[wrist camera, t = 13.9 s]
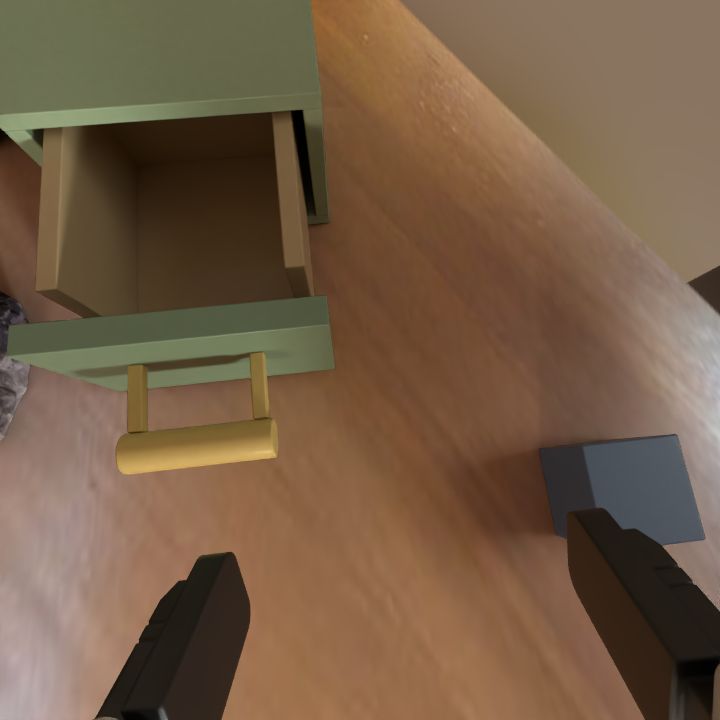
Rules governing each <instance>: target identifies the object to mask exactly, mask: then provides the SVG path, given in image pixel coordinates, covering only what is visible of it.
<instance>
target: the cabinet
mask: <svg viewBox="0 0 720 720" xmlns="http://www.w3.org/2000/svg"><path fill="white" fill-rule="evenodd" d="M289 110H295V115H296V122H297V128H298V135H299V142H300V149H301V158H302V168H303V179H304V189H305V200H306V210H307V220H308V224H318V223H329V222H330V215H329V200H328V186H327V172H326V158H325V143H324V129H323V115H322V100H321V89H320V80H319V71H318V62H317V53H316V44H315V35H314V26H313V17H312V8H311V0H0V128H1V129H2V130H3V131H5V133H6V134H7V135H8V136H9V137H10V138H11V139H12V140H13V141H15V142H16V143H17V144H18V145H19V146H20V147H21V148H22V149H23V150H24V151H25V152H26V153H27V154H28V155H29V156H30V157H31V158H32V159H33V160H34V161H35V162H36V163H37V164H38V165H39V166H40V167H42V152H43V135H44V128H55V127H69V126H83V125H97V124H110V123H124V122H138V121H152V120H165V119H179V118H193V117H207V116H220V115H234V114H248V113H262V112H276V111H289Z"/></svg>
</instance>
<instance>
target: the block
mask: <svg viewBox="0 0 720 720" xmlns="http://www.w3.org/2000/svg"><path fill="white" fill-rule="evenodd" d="M539 452H540V457H541V462H542V467H543V472H544V477H545V482H546V487H547V492H548V497H549V501H550V506H551V511H552V516H553V521H554V526H555V531H556V535H557V536H560V537H563V538H565V539H567V514H568V512H569V511H576V510H584V509H593V508H601V507H602V508H605V509H606V510H607V511H608V512H609V513H610V515H611V516H612V517H613V518H614V520H615V521H616V522H617V523H618V525H619V526H620V527H621V528H622V529H632V528H636V529H637V530H639V531H641V532H642V533H644V534H645V535H647V536H648V537H650V538H652V539H653V540H655V541H656V542H658V543H659V544H660V545H669V544H676V543H684V542H691V541H699V540H704V539H705V535H704V531H703V528H702V524H701V520H700V517H699V513H698V509H697V506H696V502H695V498H694V494H693V491H692V487H691V483H690V480H689V476H688V472H687V469H686V465H685V461H684V458H683V454H682V450H681V447H680V443H679V439H678V436H677V435H675V434H672V435H660V436H648V437H636V438H624V439H613V440H605V441H597V442H588V443H580V444H571V445H563V446H554V447H546V448H540V449H539Z"/></svg>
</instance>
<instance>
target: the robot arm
mask: <svg viewBox="0 0 720 720" xmlns="http://www.w3.org/2000/svg"><path fill="white" fill-rule="evenodd" d="M567 544H568V567H569V573H570V577H571V580H572V583H573V586H574V589H575V591H576V593H577V595H578V597H579V599H580V601H581V603H582V604H583V606H584V608H585V610H586V612H587V614H588V615H589V617H590V619H591V621H592V623H593V625H594V626H595V628H596V630H597V632H598V634H599V636H600V637H601V639H602V641H603V643H604V645H605V647H606V648H607V650H608V652H609V654H610V656H611V658H612V659H613V661H614V663H615V665H616V667H617V669H618V670H619V672H620V674H621V676H622V678H623V680H624V682H625V683H626V685H627V687H628V689H629V691H630V693H631V694H632V696H633V698H634V700H635V702H636V704H637V705H638V707H639V709H640V711H641V713H642V715H643V716H644V718H645V720H720V611H719V610H718V609H717V608H716V607H715V606H714V605H713V603H712V602H711V601H710V600H709V599H708V598H707V597H706V596H705V594H704V593H703V592H702V591H701V590H700V589H699V588H698V586H697V585H694V584H693V582H692V580H691V579H690V577H689V576H688V575H687V574H686V573H685V572H684V571H683V569H682V568H679V567H678V565H677V563H676V562H675V560H674V559H673V558H672V557H671V556H670V555H669V554H668V552H667V551H666V550H665V549H664V548H663V547H662V546H661V545H660V544H659V543H658V542H656V541H655V540H653V539H652V538H650V537H648V536H647V535H645V534H644V533H642V532H641V531H639V530H637V529H636V528H632V529H622V528H621V527H620V526H619V525H618V523H617V522H616V521H615V520H614V518H613V517H612V516H611V515H610V513H609V512H608V511H607V510H606V509H605V508H602V507H601V508H593V509H584V510H576V511H569V512H568V514H567ZM249 624H250V602H249V597H248V594H247V591H246V588H245V585H244V582H243V578H242V575H241V572H240V569H239V566H238V563H237V559H236V557H235V555H234V554H233V553H232V552H225V553H217V554H209V555H202V556H200V557H199V558H198V559H197V561H196V563H195V565H194V566H193V568H192V570H191V572H190V574H189V576H188V578H187V580H183V581H178V582H177V583H176V584H175V585H174V586H173V587H172V588H171V589H170V591H169V592H168V593H167V594H166V595H165V596H164V597H163V598H162V599H161V600H160V602H159V603H158V605H157V607H156V609H155V611H154V613H153V614H152V616H151V618H150V620H149V625H146V627H145V629H144V631H143V632H142V634H141V636H140V638H139V643H138V644H136V645H135V647H134V649H133V651H132V652H131V654H130V656H129V658H128V660H127V661H126V663H125V665H124V667H123V669H122V671H121V672H120V674H119V676H118V678H117V680H116V681H115V683H114V685H113V687H112V689H111V690H110V692H109V694H108V696H107V698H106V699H105V701H104V703H103V705H102V707H101V709H100V710H99V712H98V714H97V716H96V717H95V719H93V720H221V719H222V716H223V712H224V709H225V706H226V702H227V699H228V696H229V692H230V689H231V686H232V682H233V679H234V676H235V672H236V669H237V666H238V662H239V659H240V656H241V652H242V649H243V645H244V642H245V639H246V635H247V632H248V629H249Z"/></svg>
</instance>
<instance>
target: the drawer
mask: <svg viewBox="0 0 720 720" xmlns="http://www.w3.org/2000/svg"><path fill="white" fill-rule="evenodd" d="M35 291H36V292H38V293H40V294H42V295H43V296H45V297H47V298H49V299H51V300H53V301H54V302H56V303H58V304H60V305H62V306H63V307H65V308H67V309H69V310H71V311H73V312H74V313H76V314H78V315H80V316H82V317H84V318H82V319H71V320H61V321H50V322H40V323H29V324H19V325H10V326H9V328H8V342H7V357H8V358H11V359H15V360H18V361H21V362H24V363H28V364H31V365H34V366H37V367H41V368H44V369H47V370H50V371H54V372H57V373H60V374H63V375H67V376H70V377H73V378H77V379H80V380H83V381H86V382H90V383H93V384H96V385H99V386H103V387H106V388H109V389H112V390H116V391H119V392H121V391H128V417H127V432H128V433H131V434H124V435H122V436H121V437H120V439H119V440H118V443H117V446H116V462H117V466H118V468H119V470H120V472H121V473H123V474H126V475H127V474H136V473H145V472H153V471H162V470H171V469H179V468H188V467H197V466H205V465H214V464H223V463H231V462H240V461H249V460H257V459H266V458H275V457H276V456H277V454H278V434H277V427H276V423H275V420H274V419H273V418H270V413H269V398H268V383H267V376H273V375H282V374H292V373H301V372H311V371H320V370H330V369H335V362H334V353H333V344H332V336H331V327H330V319H329V311H328V303H327V296H326V295H321V296H315V293H314V283H313V272H312V262H311V251H310V241H309V231H308V220H307V210H306V200H305V189H304V179H303V168H302V158H301V149H300V142H299V135H298V128H297V122H296V115H295V110H289V111H276V112H262V113H248V114H234V115H220V116H207V117H193V118H179V119H165V120H152V121H138V122H124V123H110V124H97V125H83V126H69V127H55V128H44V135H43V152H42V170H41V188H40V206H39V224H38V242H37V260H36V278H35ZM244 378H251V391H252V408H253V418H254V419H255V420H248V421H239V422H230V423H221V424H212V425H203V426H194V427H185V428H176V429H167V430H158V431H149V432H148V389H149V388H159V387H168V386H178V385H187V384H197V383H206V382H216V381H225V380H235V379H244Z"/></svg>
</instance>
